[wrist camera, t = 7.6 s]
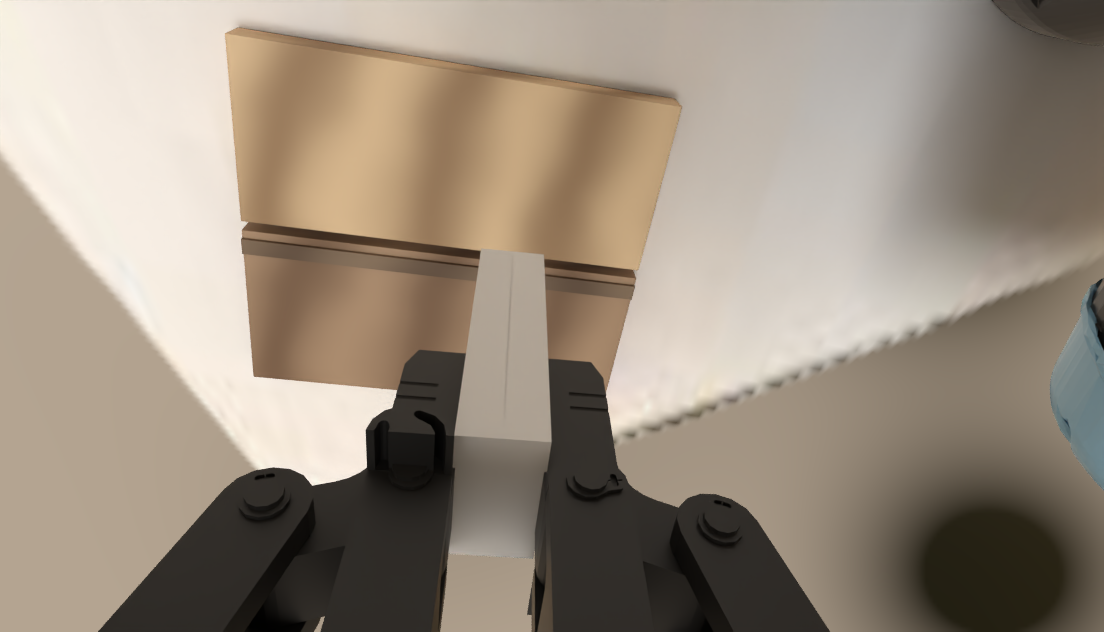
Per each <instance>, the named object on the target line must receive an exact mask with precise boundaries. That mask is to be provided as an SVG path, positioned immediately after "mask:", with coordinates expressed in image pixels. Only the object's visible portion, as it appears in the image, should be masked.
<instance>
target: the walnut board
mask: <svg viewBox="0 0 1104 632" xmlns="http://www.w3.org/2000/svg"><path fill="white" fill-rule="evenodd" d="M242 237H243V238H242V239H241V244H242V254H244V262H245V275H246V287H247V300H248V312H249V324H250V337H251V349H252V362H253V374H254V377H264V378H275V379H285V380H296V381H307V382H317V383H328V384H339V385H349V386H360V387H371V388H381V389H392V390H398V386H399V384H400V379H401V375H402V372H403V368H404V364H405V363H406V362H407V361H408V360H409V359H410V358H411V357H412V356H413V355H414V354H415V353H416V352H417V351H418V350H430V351H442V352H454V353H466V350H467V344H468V337H469V330H470V323H471V316H472V309H473V302H474V295H475V288H476V281H477V275H478V268H479V261H480V254H481V251H479V250H471V249H463V248H455V247H447V246H439V245H431V244H423V243H415V242H407V241H398V240H390V239H382V238H374V237H366V236H358V235H350V234H342V233H334V232H326V231H318V230H310V229H302V228H294V227H286V226H278V225H270V224H262V223H254V222H248V223H247V225H246V226H245V227H244V228H243V229H242ZM544 268H545V293H546V317H547V342H548V359H561V360H573V361H585V362H591V363H592V364H593V365H594V366H595V368H596V369H597V370H598V372H599V373H600V374H601V376H602V377H603V379H604V385H605V392H606V390H607V386H608V382H609V379H610V375H611V371H612V367H613V364H614V360H615V356H616V352H617V348H618V345H619V341H620V337H621V333H622V330H623V326H624V322H625V318H626V314H627V311H628V307H629V303H630V300H632V296H633V292H634V288H635V286H634V284H635V280H636V277H635V274H634V272H633V270H631V269H623V268H615V267H607V266H599V265H591V264H583V263H575V262H567V261H559V260H551V259H544Z"/></svg>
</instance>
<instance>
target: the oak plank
mask: <svg viewBox="0 0 1104 632" xmlns="http://www.w3.org/2000/svg"><path fill="white" fill-rule="evenodd" d="M225 40H226V51H227V63H228V74H229V86H230V98H231V109H232V121H233V132H234V144H235V156H236V167H237V179H238V190H239V202H240V214H241V221H246V222H254V223H262V224H270V225H278V226H286V227H294V228H302V229H310V230H318V231H326V232H334V233H342V234H350V235H358V236H366V237H374V238H382V239H390V240H398V241H407V242H415V243H423V244H431V245H439V246H447V247H455V248H463V249H471V250H479V251H481V248H482V249H493V250H503V251H513V252H524V253H534V254H544V259H551V260H559V261H567V262H575V263H583V264H591V265H599V266H607V267H615V268H623V269H631V270H638V269H639V265H640V262H641V258H642V254H643V251H644V247H645V243H646V239H647V236H648V232H649V228H650V224H651V221H652V217H653V213H654V210H655V206H656V202H657V198H658V195H659V191H660V187H661V184H662V180H663V176H664V172H665V169H666V165H667V161H668V158H669V154H670V150H671V146H672V143H673V139H674V135H675V132H676V128H677V124H678V120H679V117H680V113H681V109H682V107H681V105H680V104H679V103H678V102H677V101H676V99H673V98H667V97H660V96H654V95H648V94H642V93H636V92H630V91H624V90H617V89H611V88H605V87H599V86H593V85H587V84H581V83H574V82H568V81H562V80H556V79H550V78H544V77H538V76H531V75H525V74H519V73H513V72H507V71H501V70H495V69H488V68H482V67H476V66H470V65H464V64H458V63H452V62H445V61H439V60H433V59H427V58H421V57H415V56H409V55H402V54H396V53H390V52H384V51H378V50H372V49H366V48H359V47H353V46H347V45H341V44H335V43H329V42H323V41H316V40H310V39H304V38H298V37H292V36H286V35H280V34H273V33H267V32H261V31H255V30H249V29H243V28H236V29H233V30H231V31H229V32H227V33H225Z"/></svg>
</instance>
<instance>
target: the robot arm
mask: <svg viewBox="0 0 1104 632" xmlns="http://www.w3.org/2000/svg"><path fill="white" fill-rule="evenodd" d="M992 1H993V2H994V3H995V4H996V6H997V7H998V8H999V9H1000V10H1001V11H1002V12H1003V13H1004V14H1005V15H1007V16H1008V17H1009V18H1010V19H1012V20H1013V21H1014V22H1016V23H1018V24H1019V25H1021V26H1023V27H1025V28H1027V29H1029V30H1031V31H1034V32H1037V33H1039V34H1042V35H1047V36H1051V37H1055V38H1059V39H1064V40H1068V41H1073V42H1077V43H1082V44H1089V45H1104V0H992ZM1050 399H1051V406H1052V410H1053V413H1054V416H1055V419H1056V421H1057V423H1058V425H1059V428H1060V430H1061V432H1062V433H1063V435H1064V436H1065V437H1066V438H1067V439H1068V441H1069V442H1070V443H1071V449H1072V451H1073V454H1074V455H1075V456H1076V458H1077V459H1078V461H1079V462H1080V463H1081V465H1082V466H1083V467H1084V469H1085V470H1086V471H1087V472H1088V474H1089V475H1090V476H1091V477H1092V478H1093V480H1094V481H1095V482H1096V483H1097V484H1098V485H1099V486H1100V487H1101V488H1102V489H1103V490H1104V278H1103V279H1101V280H1099V281H1098V282H1097V283H1096V284H1093V285H1091V286H1090V288H1089V289H1088V291H1087V293H1086V294H1085V296H1084V298H1083V300H1082V305H1081V316H1080V318H1079V320H1078V322H1077V324H1076V326H1075V328H1074V330H1073V332H1072V333H1071V336H1070V337H1069V339H1068V342H1067V343H1066V345H1065V347H1064V349H1063V351H1062V353H1061V355H1060V356H1059V358H1058V360H1057V362H1056V365H1055V367H1054V370H1053V372H1052V376H1051V381H1050ZM366 451H367V468H366V469H365V470H363V471H362V472H361V473H358V474H356V475H354V476H352V477H350V478H347V479H343V480H340V481H336V482H331V483H325V484H320V485H314V486H312V485H311V484H310V483H309V481H308V480H307V479H306V478H305V477H304V475H302V474H300V473H297V472H295V471H293V470H291V469H283V468H267V469H262V470H256V471H253V472H251V473H248V474H246V475H244V476H241V477H239V478H237V479H236V480H235V481H234V482H232V483H231V484H230V485H229V486H227V487H226V488H225V489H224V490H223V491H222V492H221V493H220V494H219V496H218V497H217V498H216V499H215V500H214V501H213V502H212V503H211V505H210V506H209V507H208V508H207V509H206V510H205V511H204V513H203V514H202V515H201V516H200V517H199V518H198V519H197V520H196V522H195V523H194V524H193V525H192V526H191V527H190V528H189V530H188V531H187V532H186V533H185V534H184V535H183V536H182V537H181V539H180V540H179V541H178V542H177V543H176V544H175V545H174V546H173V547H172V549H171V550H170V551H169V552H168V553H167V554H166V555H165V557H164V558H163V559H162V560H161V561H160V562H159V563H158V564H157V566H156V567H155V568H154V569H153V570H152V571H151V572H150V574H149V575H148V576H147V577H146V578H145V579H144V580H143V581H142V583H141V584H140V585H139V586H138V587H137V588H136V590H135V591H134V592H133V593H132V594H131V595H130V596H129V597H128V599H127V600H126V601H125V602H124V603H123V604H122V605H121V606H120V607H119V609H118V610H117V611H116V612H115V613H114V614H113V615H112V616H111V618H110V619H109V620H108V621H107V622H106V623H105V624H104V626H103V627H102V628H101V629H100V630H99V631H98V632H314V630H315V629H316V627H317V625H318V623H319V621H320V618H321V617H323V616H325V618H324V622H323V625H322V629H321V632H440V628H441V620H442V612H443V604H444V595H445V587H446V575H447V560H448V554H462V555H478V556H496V557H514V558H532V559H533V556H534V550H535V569H534V576H533V582H532V588H531V594H530V600H529V607H528V613H527V614H528V615H532V632H830V631H829V629H828V628H827V626H826V625H825V623H824V622H823V621H822V619H821V617H820V616H819V614H818V613H817V611H816V610H815V608H814V607H813V605H812V604H811V602H810V600H809V599H808V597H807V596H806V595H805V593H804V591H803V590H802V588H801V587H800V586H799V584H798V582H797V581H796V579H795V578H794V576H793V575H792V573H791V572H790V570H789V569H788V567H787V565H786V564H785V563H784V561H783V559H782V558H781V556H780V555H779V553H778V552H777V551H776V549H775V547H774V546H773V544H772V543H771V541H770V540H769V538H768V537H767V535H766V534H765V532H764V531H763V529H762V528H761V526H760V525H759V523H758V522H757V520H756V519H755V518H754V517H753V516H752V515H751V514H750V512H749V511H748V510H747V509H746V508H744V507H743V506H741V505H740V504H738V503H736V502H735V501H733V500H732V499H729V498H725V497H722V496H719V495H716V494H699V495H696V496H693V497H690V498H688V499H686V500H685V501H684V502H683V503H682V504H681V506H680V507H679V508H678V507H675V506H672V505H669V504H666V503H663V502H660V501H656V500H654V499H652V498H649V497H647V496H645V495H643V494H641V493H639V492H638V491H636V490H635V489H634V488H632V487H631V486H630V485H629V483H628V481H627V479H626V476H625V475H624V474H623V473H622V472H621V471H620V470H619V469H618V466H617V462H616V455H615V449H614V443H613V436H612V430H611V424H610V417H609V413H608V404H607V398H606V392H605V385H604V379H603V377H602V376H601V374H600V373H599V372H598V370H597V369H596V368H595V366H594V365H593V364H592V363H591V362H585V361H573V360H561V359H548V342H547V317H546V293H545V268H544V254H534V253H524V252H513V251H503V250H493V249H482V248H481V254H480V261H479V268H478V275H477V281H476V288H475V295H474V302H473V309H472V316H471V323H470V330H469V337H468V344H467V350H466V353H454V352H442V351H430V350H418V351H417V352H416V353H415V354H414V355H413V356H412V357H411V358H410V359H409V360H408V361H407V362H406V363H405V364H404V368H403V372H402V375H401V379H400V384H399V386H398V390H397V393H396V398H395V400H394V404H393V408H392V409H388V410H385V411H383V412H382V413H381V414H379V415H378V416H376V417H375V418H373V419H372V421H371V422H370V424H369V425H368V427H367V429H366Z"/></svg>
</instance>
